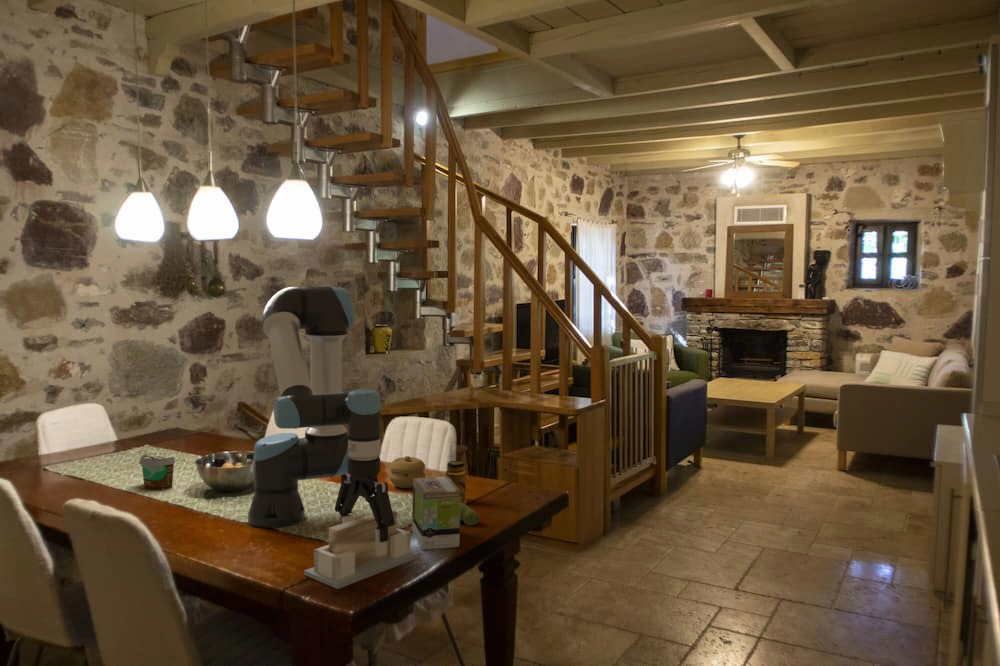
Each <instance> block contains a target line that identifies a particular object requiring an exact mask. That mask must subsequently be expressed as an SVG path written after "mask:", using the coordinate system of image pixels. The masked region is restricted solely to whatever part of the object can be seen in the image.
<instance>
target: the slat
mask: <svg viewBox="0 0 1000 666" xmlns="http://www.w3.org/2000/svg"><path fill="white" fill-rule="evenodd" d="M392 512H393V516H394V521H395V525H393V526H390V527H388V540H387V553H386V554H384V555H381V556H378V557H377V556H375V534H376V528H377V527H378V525H377V523H376V520H375V518H374V515H373V513H372V514H369V515H365V516H362V517H360V518H357V519H353V521H349V522H346V523H343V524H341V523H340V524H336V525H332V526H331V527H328V545H329V552H330V553H332V554H335V555H338V554H341V553H344V552H347V551H350V550H352V551H354V552H355V568H356V567H358V566H361V565H364V564H366V563H369V562H372V561H375V560H377V559H380V558H383V557H385V556H388V555H390V536H393V535H396V534H397V528H398V512H397V511H395V510H392ZM382 523H383V521H382Z"/></svg>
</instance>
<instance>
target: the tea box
mask: <svg viewBox="0 0 1000 666" xmlns="http://www.w3.org/2000/svg"><path fill="white" fill-rule="evenodd" d="M460 500H461V491H460V490H459V488H458V487H457V486H456V485H455V484H454V483H453V482H452V481H451V479H450V478H449V477H446V476H434V477H432V476H431V477H425V478H413V488H412V515H411V516H412V521H411V523H412V524H411V525H412V526H411V529H412V532H413V534H414V537H415V539H416V541H417V543H418V545H419V546H420V548H421V549H422V550H423V551H424V550H438V549H450V548H459V546H460V537H461V536H460V532H461V531H460V530H461V529H460V528H461V521H460Z"/></svg>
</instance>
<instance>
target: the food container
mask: <svg viewBox="0 0 1000 666" xmlns="http://www.w3.org/2000/svg"><path fill="white" fill-rule="evenodd" d="M138 463H139V465H140V466H141V470H142V478H143V479H142V480H143V487H144V489H145V490H149V491H159V490H160V491H162V490H167V489H172V488H173V482H174V481H173V478H174V465H175V464H176V460H175V456H171V457H166V458H165V457H163V456H152V455H151V456H150V455H149V454H148V453H144V454H142V455H141V456H140V458H139V462H138Z"/></svg>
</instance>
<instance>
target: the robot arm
mask: <svg viewBox="0 0 1000 666" xmlns="http://www.w3.org/2000/svg"><path fill="white" fill-rule="evenodd" d="M354 310H355V309H354V306H353V300H352V298H351V295H350V292H349V291H348V290H347V289H346V288H344V287H337V286H289V287H285V288H283V289H281V290H279V291H278V292H276V293H275V294H273V296H272V297H271V298H270V299H269V300H268V301H267V303H266V305H265V307H264V309H263V312H262V315H261V324H262V330H263V333H264V334H265V335H266V336H267V337H268V339H269V345H270V349H271V355H272V360H273V366H274V370H275V371H274V372H275V376H276V380H277V387H278V391H279V395H280V396H278V397H276V398H275V400H274V403H273V416H274V418H273V419H274V423H275V426H276V427H277V428H278V429H285V430H287V429H291V430H293V429H295V430H296V429H301V428H302V429H304V428H306V429H305V430H304V437H302V438H301V437H300V438H299V436H298V434H297V433H294V432H287V433H286V432H282V433H281V432H280V433H275V434H271V435H268V436H265V437H263V438H260V439H258V440H257V442H255V445H254V450H253V458H252V459H253V461H254V462H253V463H254V464H253V466H254V467H253V469H254V470H253V471H254V473H253V474H254V475H253V476H254V477H253V478H254V480H253V481H254V484H253V486H254V492H253V496H252V500H251V503H250V506H249V511H248V512H247V513H248V514H247V522H248V524H249V525H251V526H254V527H257V528H268V529H269V528H271V529H272V528H282V527H287V526H292V525H295V524H298V523H301V522H302V521H304V519H305V516H306V515H305V511H306V510H305V507H304V503H303V501H302V498H301V495H300V492H299V481H304V480H313V479H314V480H315V479H323V478H330V479H331V478H334V477H339V476H340V487H339V491H338V494H337V498H336V503H335V506H334V511H335V512H336V513H337V512H338V513H339V516H340V524H343V523H346V522H349V521H353V520H354V514H353V509H354V508H355V505H356V503H357V501H358V499H359V498H360V497H362V498H364V500H365V501H366V502H367V503H368V505H369V507H370V508H369V509H370V510H371V512H372V514H373V515H374V518H375V520H376V523H377V525H378V527H377V528H376V534H375V556H377V557H378V556H381V555H384V554H386V553H387V540H388V527H390V526H393V525H395V521H394V516H393V512H392V511H393V508H392V504H391V500H390V496H389V485H388V482H387V481H385V482H379V480H378V475H379V474H380V472H381V457H380V455H381V453H382V451H381V449H382V448H381V409H382V403H381V394H380V392H379V391H378V390H374V389H366V388H365V389H363V388H362V389H353V390H345V391H342V390H343V389H342V385H343V384H342V381H343V380H342V379H343V377H342V374H343V373H342V372H343V371H342V370H343V369H342V367H343V366H342V365H343V362H342V359H343V357H342V356H343V354H342V353H343V349H342V347H343V346H342V345H343V340H345V338H346V337H347V336H348V330H350V329H352V328H353V327H354V325H355V324H354V322H355V311H354ZM300 329H301V330H304V336H305V337H306V339H308V340H309V341H310V377H309V373H308V367H307V362H306V359H305V353H304V352H303V345H302V343H301V341H302V340H301V338H300V337H301V336H300V333H299V331H300ZM344 425H347V428H346V427H345V426H344ZM382 521H383V523H382Z"/></svg>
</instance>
